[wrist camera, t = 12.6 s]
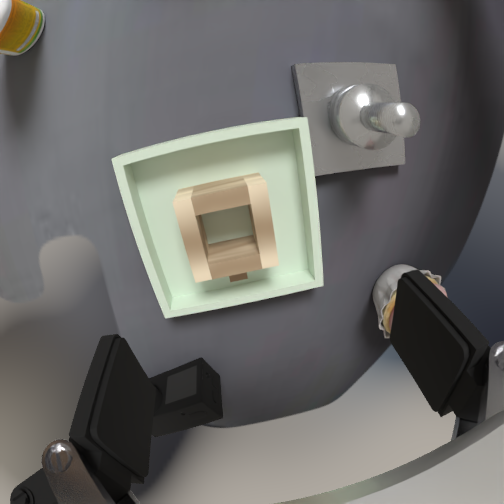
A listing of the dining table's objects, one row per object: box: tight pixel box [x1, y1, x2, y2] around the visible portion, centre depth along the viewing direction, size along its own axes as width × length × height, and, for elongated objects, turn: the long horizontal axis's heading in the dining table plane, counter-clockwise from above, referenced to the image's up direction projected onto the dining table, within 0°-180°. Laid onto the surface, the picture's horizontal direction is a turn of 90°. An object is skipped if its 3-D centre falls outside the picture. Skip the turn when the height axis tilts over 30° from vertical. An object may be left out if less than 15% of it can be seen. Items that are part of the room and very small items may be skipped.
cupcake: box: [373, 264, 448, 338], centre depth 29 cm, size 9×9×10 cm
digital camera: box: [149, 358, 223, 437], centre depth 32 cm, size 10×5×7 cm, turn 118°
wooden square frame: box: [172, 172, 279, 283], centre depth 25 cm, size 9×7×4 cm
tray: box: [112, 117, 323, 318], centre depth 26 cm, size 16×16×3 cm
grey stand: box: [291, 62, 420, 176], centre depth 20 cm, size 10×10×9 cm
